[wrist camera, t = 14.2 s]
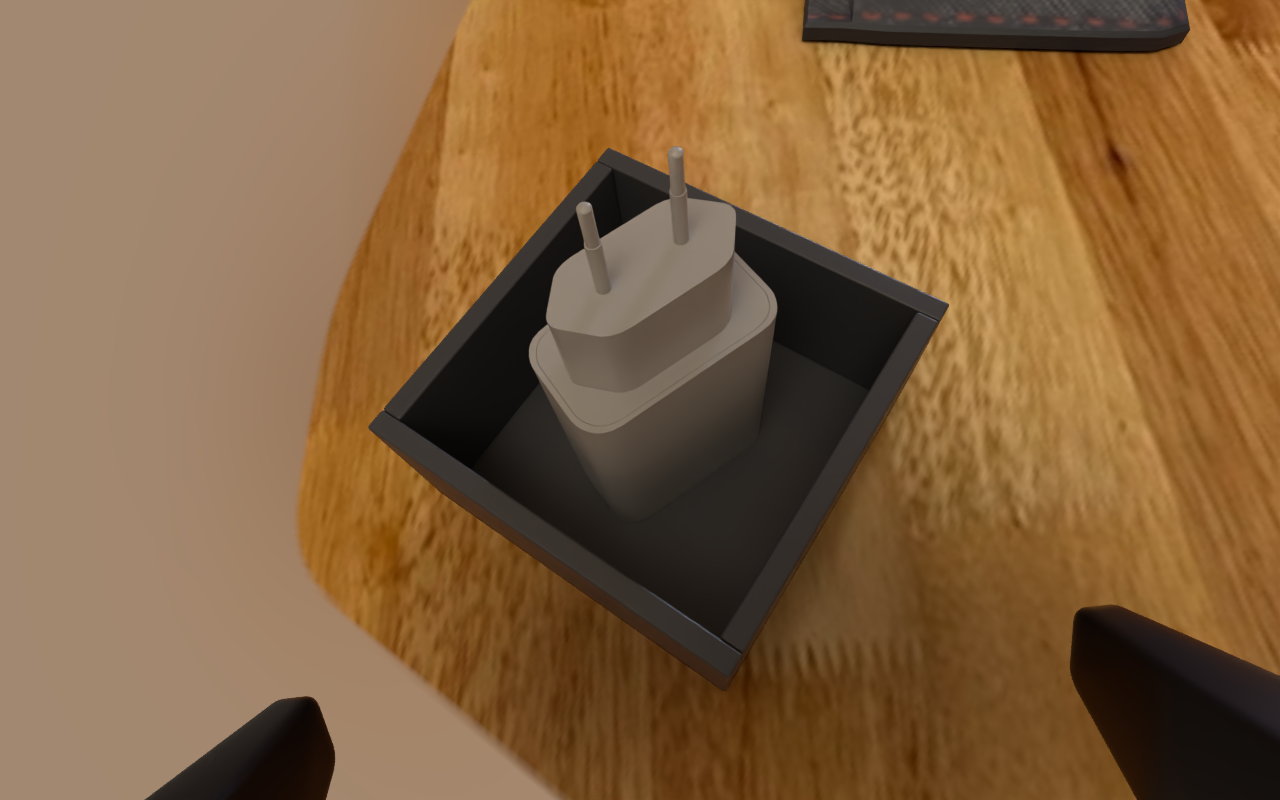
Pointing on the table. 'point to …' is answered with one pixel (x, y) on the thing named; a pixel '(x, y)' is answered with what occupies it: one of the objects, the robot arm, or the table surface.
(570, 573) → the open storage box
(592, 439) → the power adapter
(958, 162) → the table surface
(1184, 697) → the robot arm
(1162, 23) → the wallet
